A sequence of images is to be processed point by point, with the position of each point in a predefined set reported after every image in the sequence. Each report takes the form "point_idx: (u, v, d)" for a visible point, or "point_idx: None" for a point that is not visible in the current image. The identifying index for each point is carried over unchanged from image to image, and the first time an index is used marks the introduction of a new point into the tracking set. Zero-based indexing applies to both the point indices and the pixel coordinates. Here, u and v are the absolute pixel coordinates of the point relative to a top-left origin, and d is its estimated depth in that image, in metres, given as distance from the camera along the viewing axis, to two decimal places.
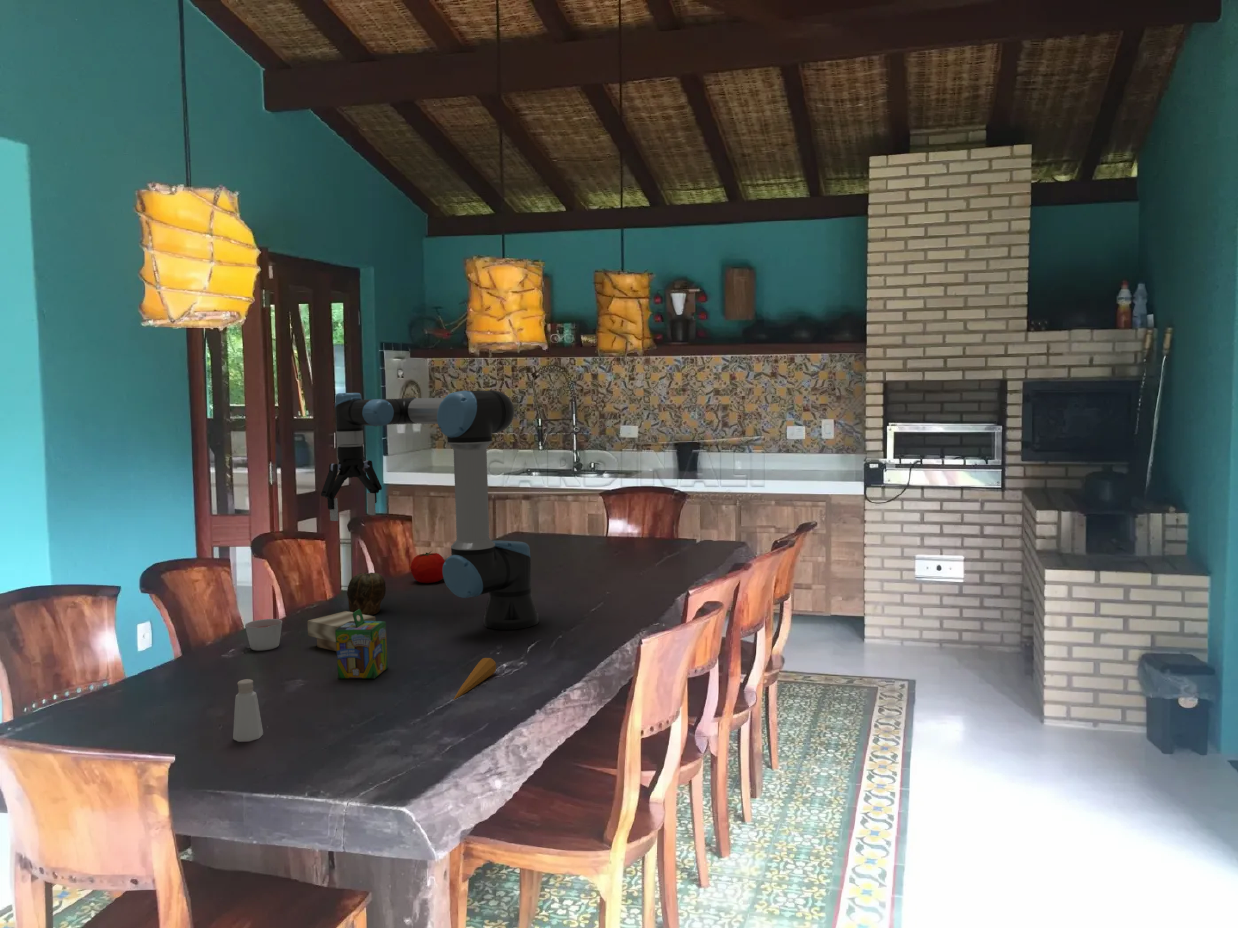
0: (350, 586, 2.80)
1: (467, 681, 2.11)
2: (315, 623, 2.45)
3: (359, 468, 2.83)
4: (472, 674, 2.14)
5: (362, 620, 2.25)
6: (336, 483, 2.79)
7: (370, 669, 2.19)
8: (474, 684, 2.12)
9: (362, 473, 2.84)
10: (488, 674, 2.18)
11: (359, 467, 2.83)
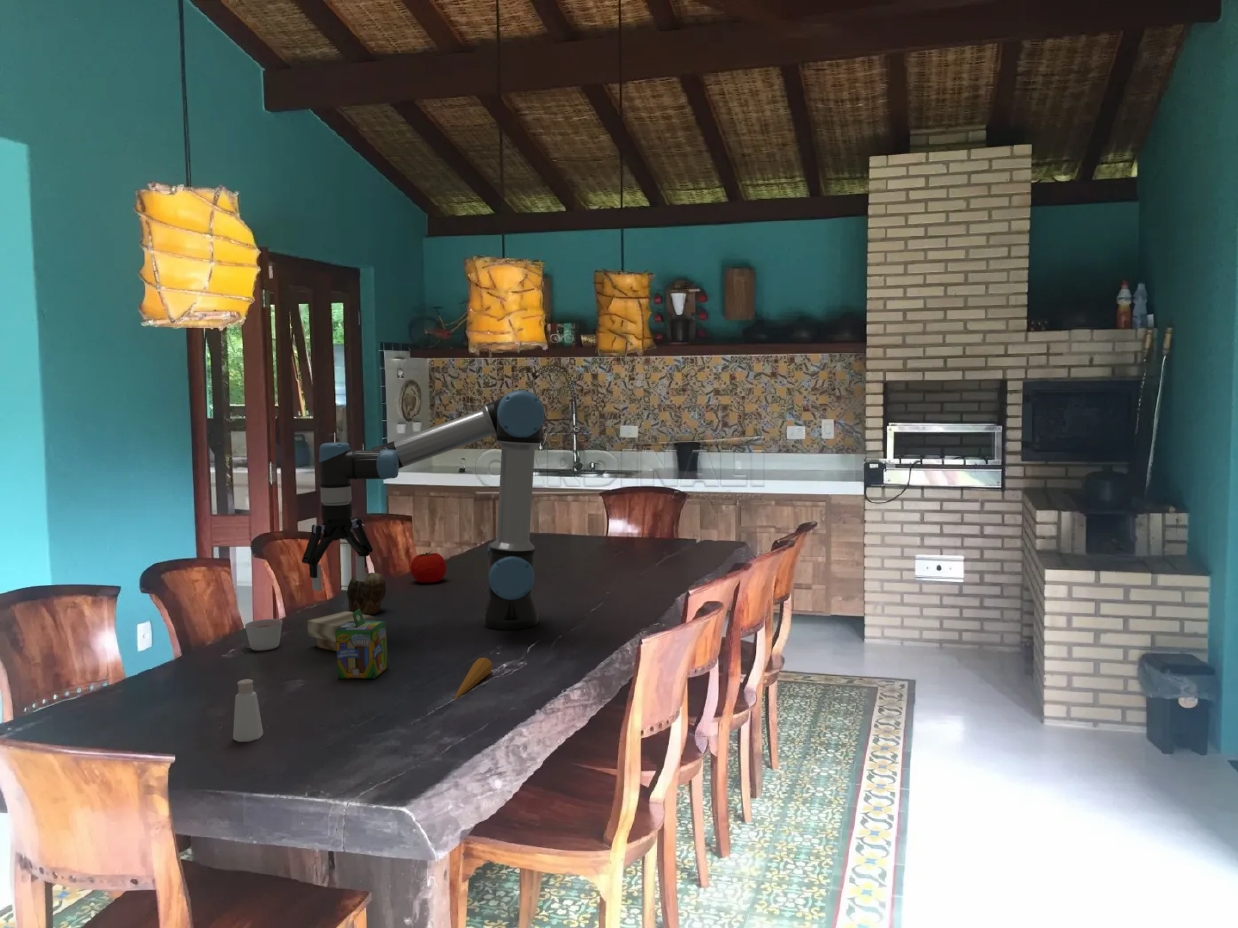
0: (350, 586, 2.80)
1: (466, 681, 2.11)
2: (315, 623, 2.45)
3: (346, 529, 2.47)
4: (470, 674, 2.14)
5: (362, 620, 2.25)
6: (320, 547, 2.42)
7: (370, 669, 2.19)
8: (472, 684, 2.12)
9: (350, 534, 2.48)
10: (485, 674, 2.18)
11: (346, 528, 2.47)
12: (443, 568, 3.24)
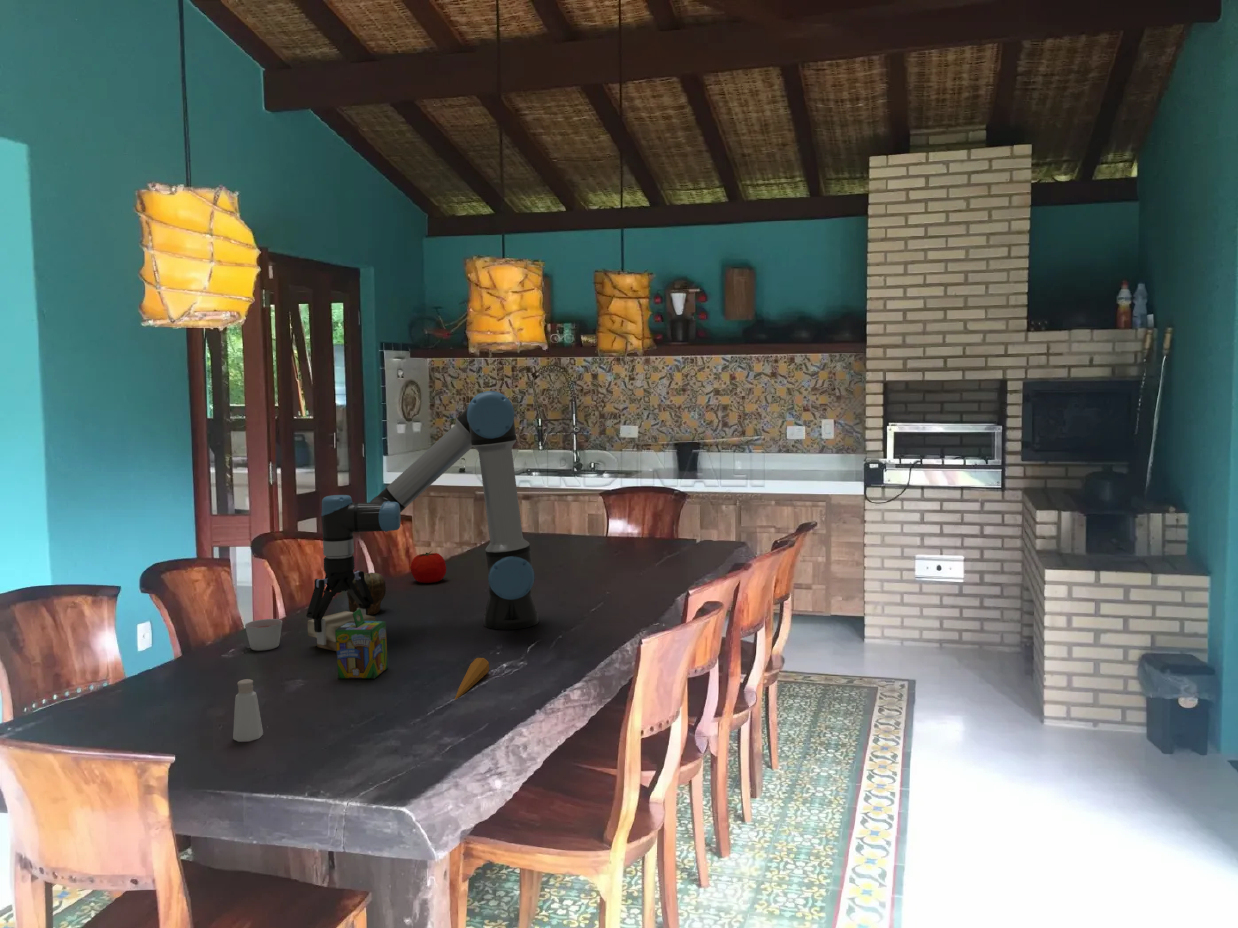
0: None
1: (465, 681, 2.11)
2: None
3: (349, 581, 2.48)
4: (468, 674, 2.14)
5: (362, 620, 2.25)
6: (324, 601, 2.44)
7: (370, 669, 2.19)
8: (471, 684, 2.12)
9: (352, 587, 2.49)
10: (483, 674, 2.18)
11: (349, 580, 2.48)
12: (443, 568, 3.24)
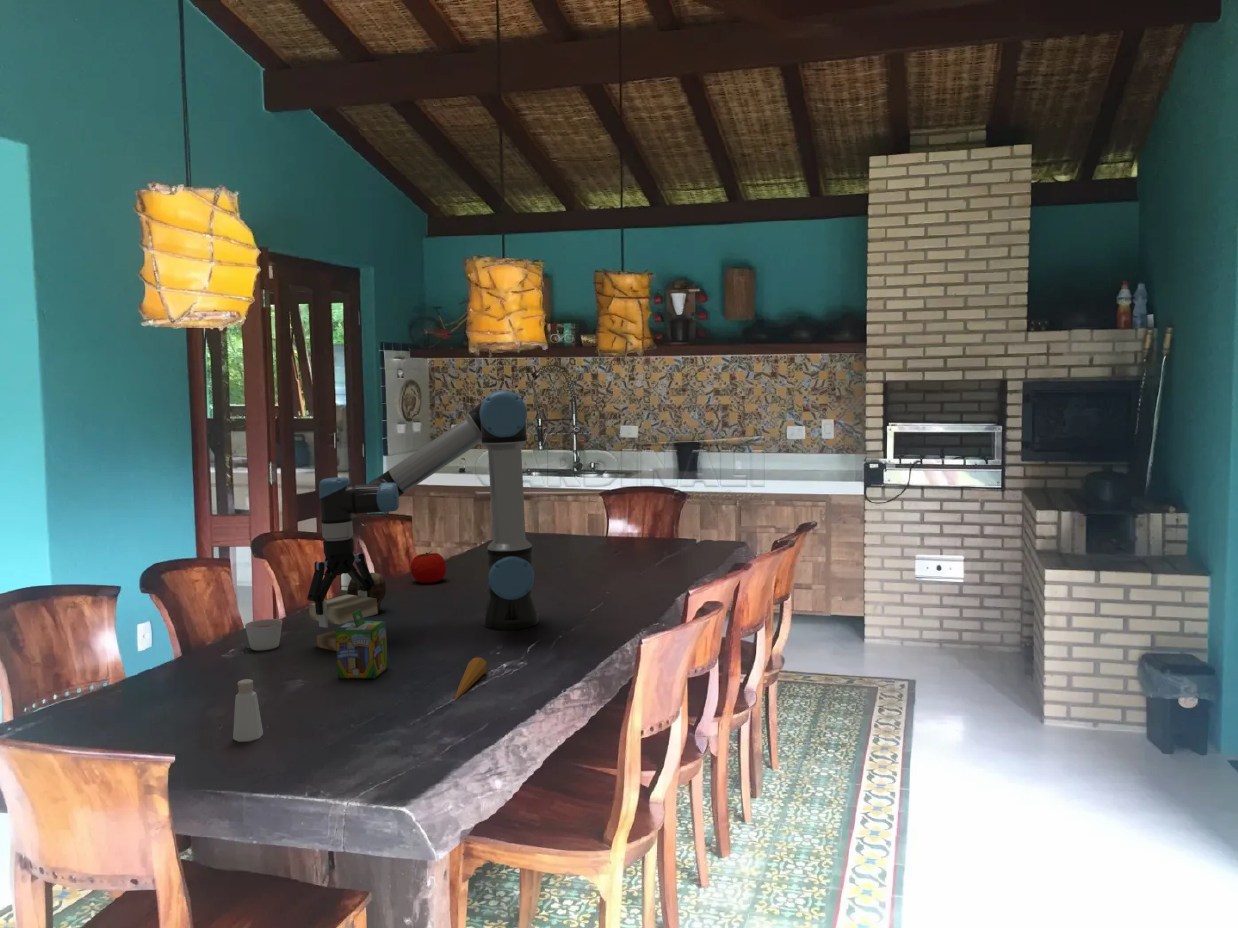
0: (350, 586, 2.80)
1: (464, 681, 2.11)
2: None
3: (349, 563, 2.47)
4: (467, 674, 2.14)
5: (362, 620, 2.25)
6: (324, 584, 2.43)
7: (370, 669, 2.19)
8: (471, 683, 2.12)
9: (352, 569, 2.49)
10: (481, 673, 2.18)
11: (349, 562, 2.47)
12: (443, 568, 3.24)
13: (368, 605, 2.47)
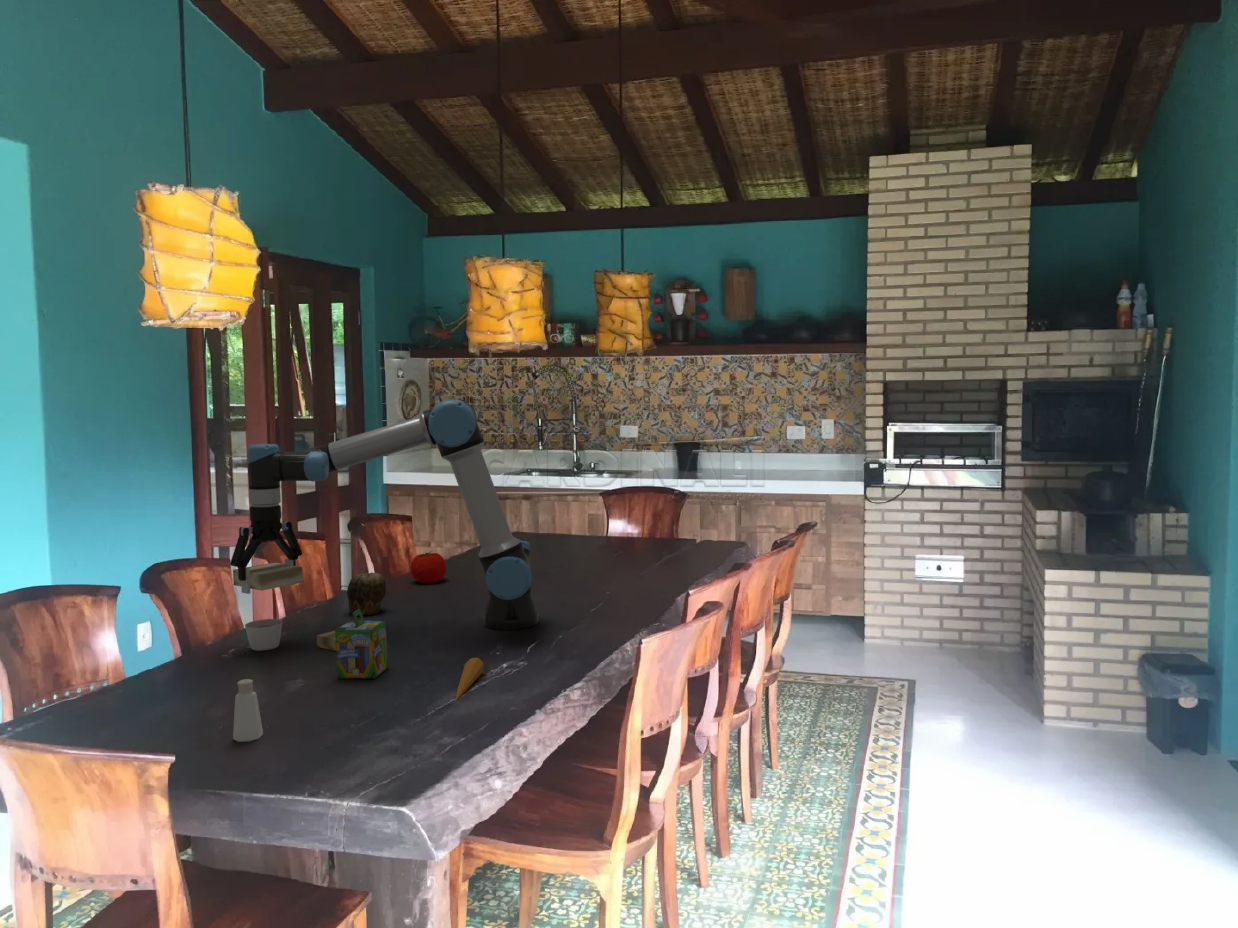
0: (350, 586, 2.80)
1: (463, 681, 2.11)
2: None
3: (275, 531, 2.46)
4: (466, 674, 2.14)
5: (362, 620, 2.25)
6: (248, 550, 2.42)
7: (370, 669, 2.19)
8: (469, 684, 2.12)
9: (279, 536, 2.47)
10: (479, 674, 2.18)
11: (275, 529, 2.46)
12: (443, 568, 3.24)
13: (292, 573, 2.46)
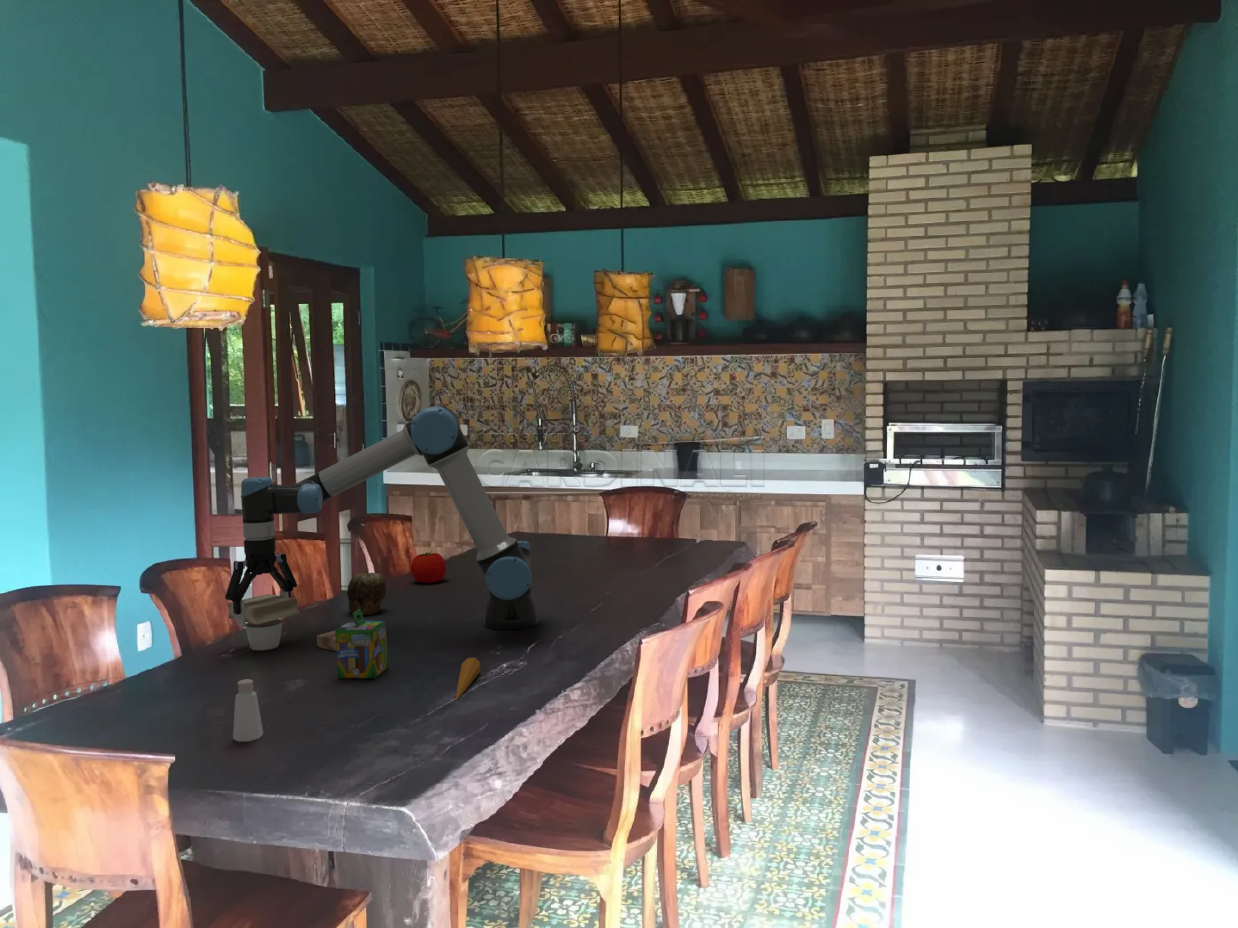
0: (350, 586, 2.80)
1: (462, 681, 2.11)
2: None
3: (270, 563, 2.47)
4: (464, 674, 2.14)
5: (362, 620, 2.25)
6: (243, 583, 2.43)
7: (370, 669, 2.19)
8: (468, 684, 2.12)
9: (273, 569, 2.48)
10: (476, 673, 2.18)
11: (270, 562, 2.47)
12: (443, 568, 3.24)
13: (287, 605, 2.47)
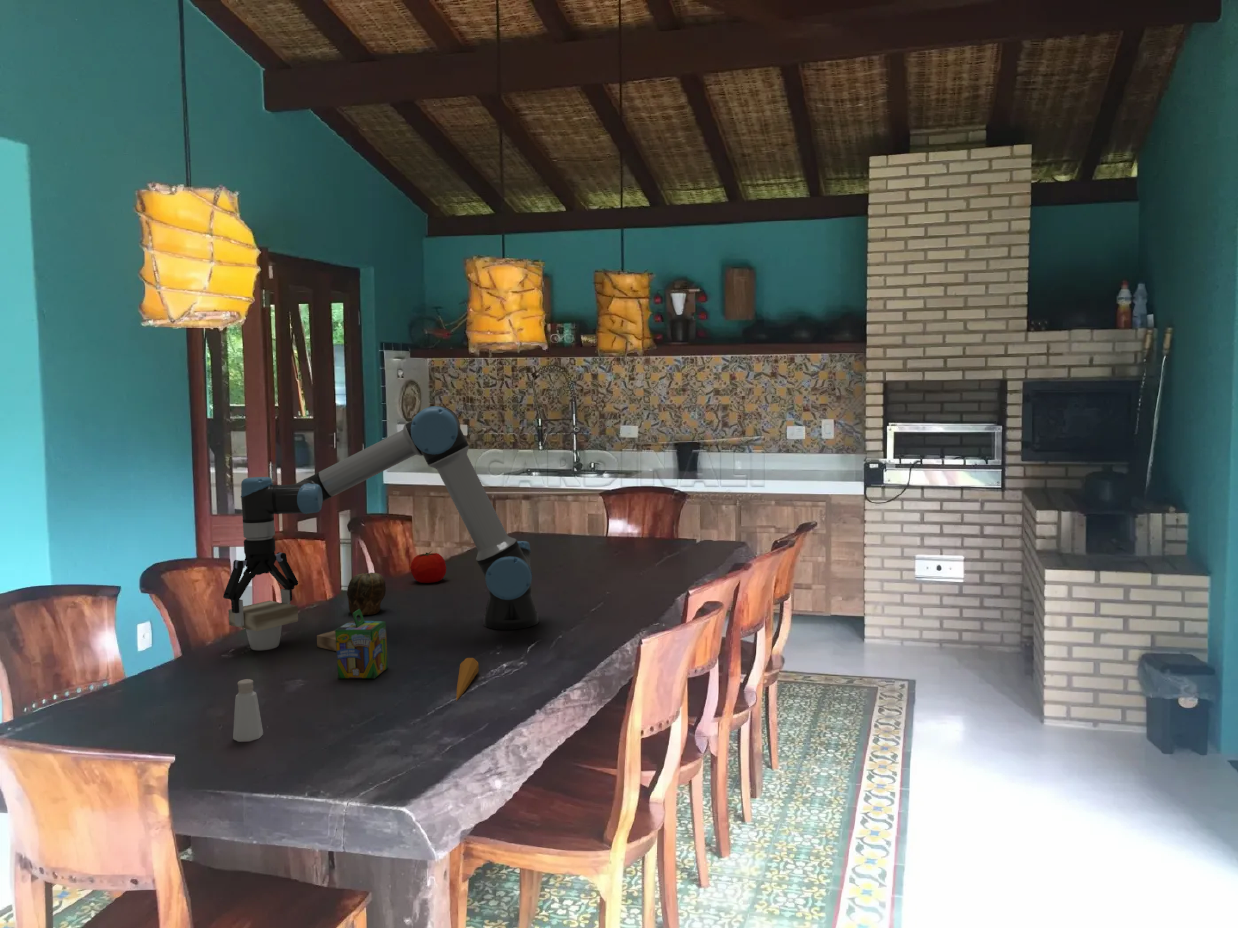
0: (350, 586, 2.80)
1: (462, 681, 2.11)
2: None
3: (270, 563, 2.47)
4: (463, 674, 2.14)
5: (362, 620, 2.25)
6: (242, 582, 2.43)
7: (370, 669, 2.19)
8: (468, 684, 2.12)
9: (273, 568, 2.48)
10: (475, 673, 2.18)
11: (270, 562, 2.47)
12: (443, 568, 3.24)
13: (288, 612, 2.47)
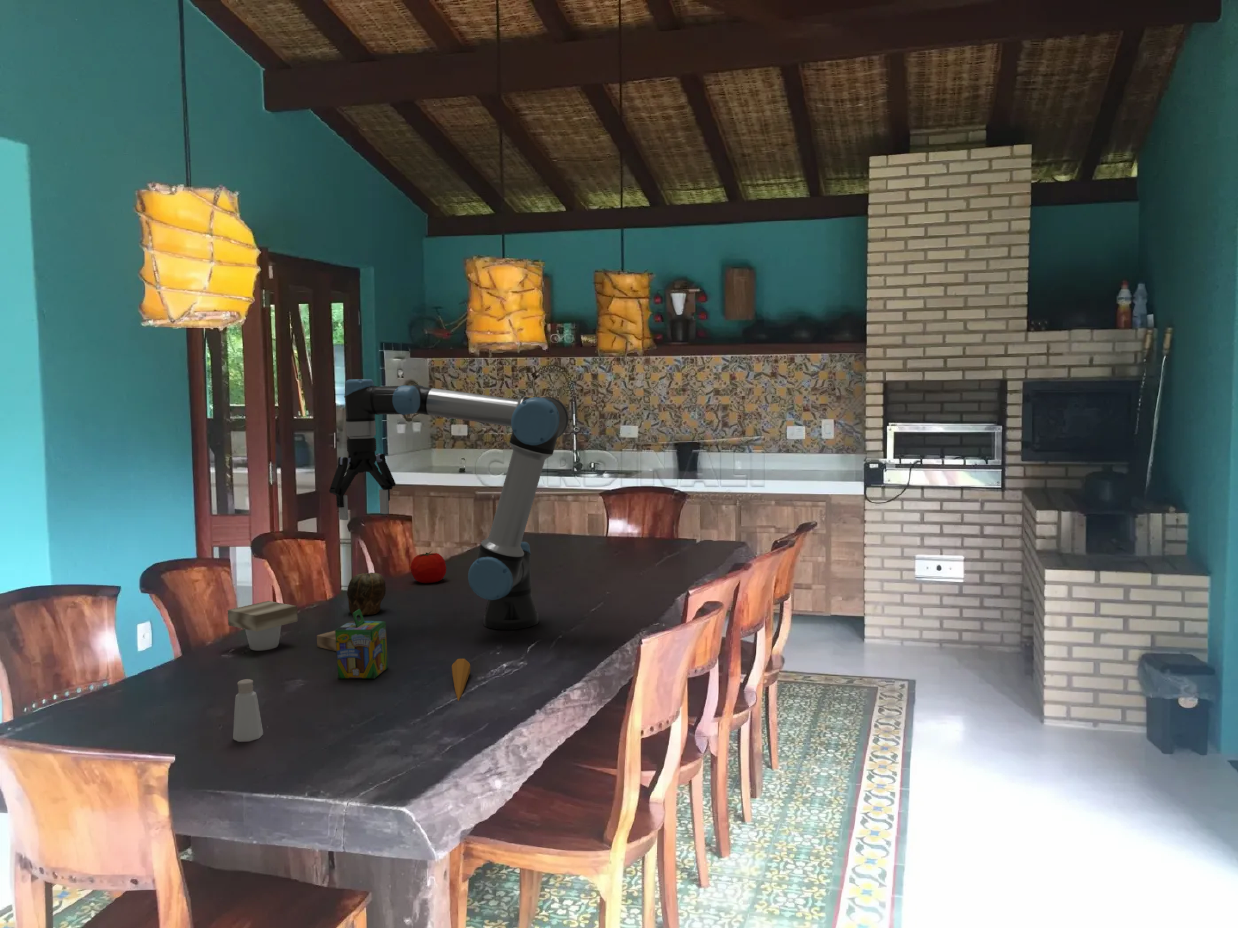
0: (350, 586, 2.80)
1: (459, 682, 2.11)
2: (235, 612, 2.45)
3: (371, 462, 2.57)
4: (459, 675, 2.14)
5: (362, 620, 2.25)
6: (346, 478, 2.53)
7: (370, 669, 2.19)
8: (464, 684, 2.12)
9: (374, 468, 2.58)
10: (468, 674, 2.18)
11: (371, 461, 2.57)
12: (443, 568, 3.24)
13: (287, 612, 2.47)
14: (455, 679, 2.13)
